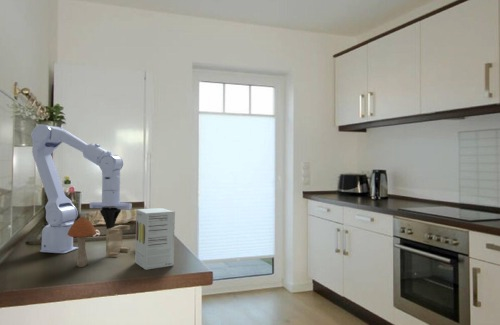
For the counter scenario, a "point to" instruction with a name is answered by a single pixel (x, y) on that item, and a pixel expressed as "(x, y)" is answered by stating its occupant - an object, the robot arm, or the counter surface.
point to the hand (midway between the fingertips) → (110, 229)
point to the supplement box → (154, 238)
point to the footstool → (115, 241)
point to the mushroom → (82, 237)
